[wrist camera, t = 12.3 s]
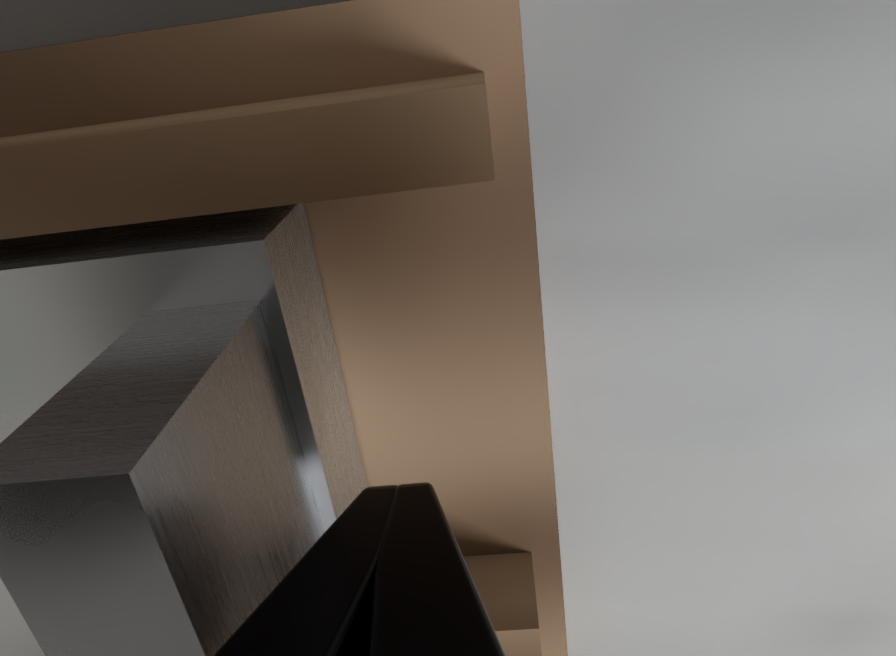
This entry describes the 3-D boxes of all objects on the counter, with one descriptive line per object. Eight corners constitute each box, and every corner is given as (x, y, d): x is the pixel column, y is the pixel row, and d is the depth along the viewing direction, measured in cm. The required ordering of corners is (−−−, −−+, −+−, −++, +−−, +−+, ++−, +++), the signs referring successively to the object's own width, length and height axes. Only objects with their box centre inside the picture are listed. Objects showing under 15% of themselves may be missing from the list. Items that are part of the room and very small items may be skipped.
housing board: (570, 733, 16) (588, 872, 13) (-117, 762, 17) (-220, 890, 15) (511, -20, 9) (527, -35, 6) (-614, 147, 10) (-966, 189, 8)
